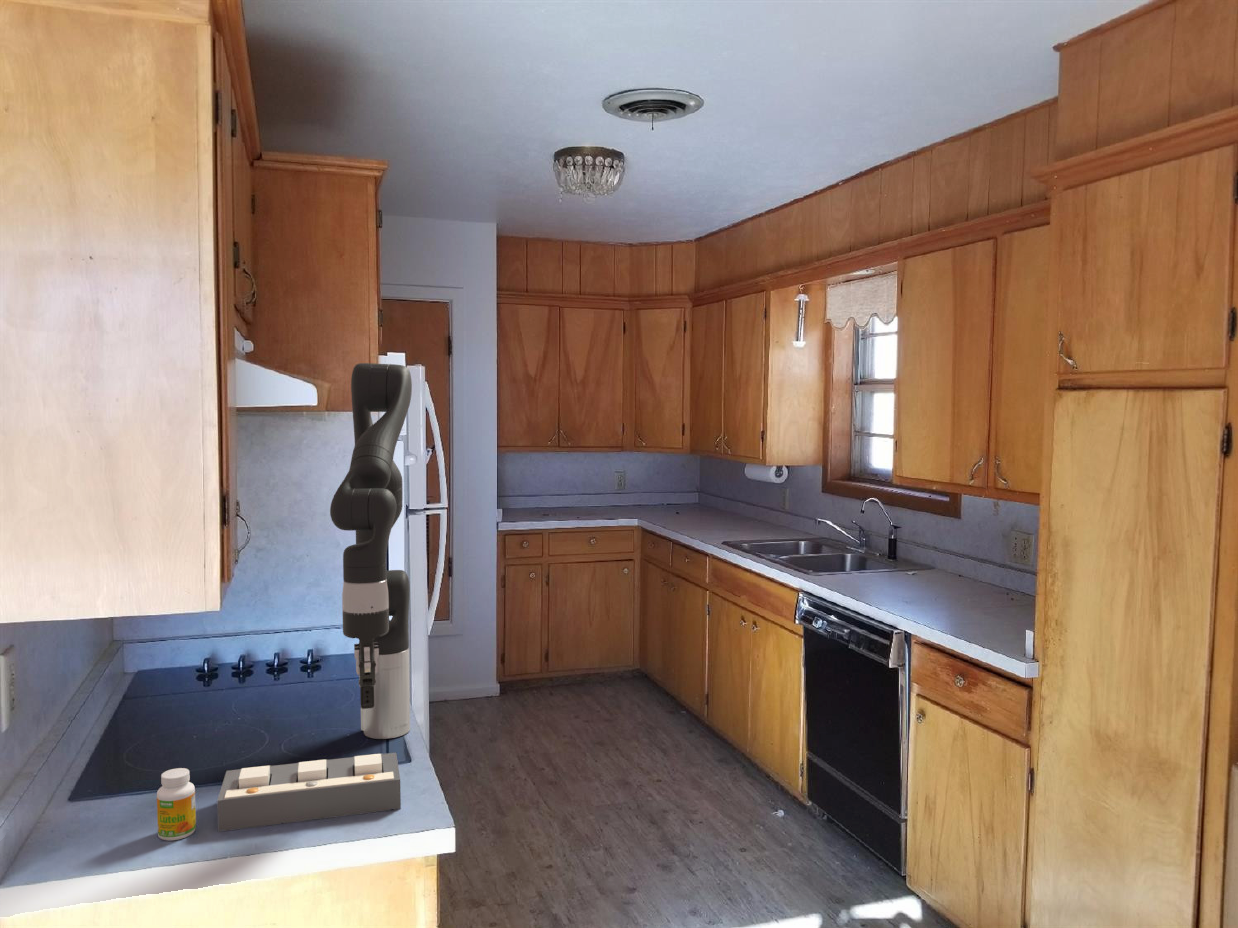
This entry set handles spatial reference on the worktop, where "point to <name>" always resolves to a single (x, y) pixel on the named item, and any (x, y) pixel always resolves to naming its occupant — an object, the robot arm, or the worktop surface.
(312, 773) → the middle key
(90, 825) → the worktop surface
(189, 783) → the supplement bottle
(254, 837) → the worktop surface
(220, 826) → the button board
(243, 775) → the near key
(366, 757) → the far key
